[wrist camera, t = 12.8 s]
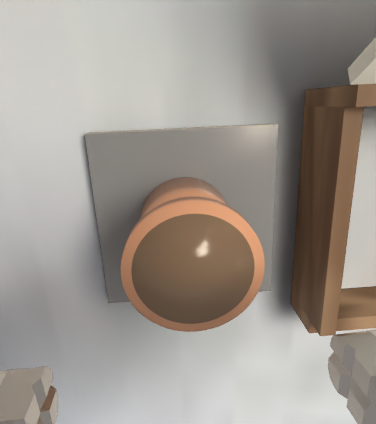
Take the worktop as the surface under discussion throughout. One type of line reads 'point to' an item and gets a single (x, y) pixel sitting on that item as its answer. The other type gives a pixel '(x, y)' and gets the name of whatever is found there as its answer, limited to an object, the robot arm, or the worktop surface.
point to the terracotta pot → (191, 258)
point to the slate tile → (175, 168)
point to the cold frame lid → (364, 66)
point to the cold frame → (329, 211)
